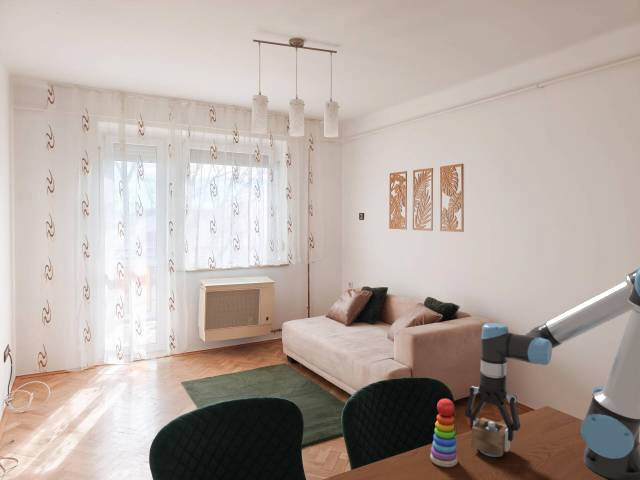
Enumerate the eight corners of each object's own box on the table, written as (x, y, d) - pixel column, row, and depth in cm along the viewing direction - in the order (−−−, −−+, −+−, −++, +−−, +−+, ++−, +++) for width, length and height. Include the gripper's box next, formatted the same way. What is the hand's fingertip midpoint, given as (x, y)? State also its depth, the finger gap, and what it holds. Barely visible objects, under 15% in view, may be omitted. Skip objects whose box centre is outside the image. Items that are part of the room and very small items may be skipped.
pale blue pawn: (506, 450, 144) (507, 422, 144) (499, 459, 139) (499, 430, 138) (483, 443, 149) (484, 415, 148) (475, 451, 143) (476, 423, 143)
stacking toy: (459, 470, 133) (460, 406, 132) (430, 466, 135) (431, 404, 134) (456, 456, 141) (457, 395, 140) (429, 453, 142) (430, 393, 141)
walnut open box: (510, 444, 145) (510, 425, 144) (501, 456, 137) (501, 436, 137) (481, 435, 150) (482, 417, 150) (471, 446, 143) (472, 427, 143)
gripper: (534, 378, 139) (531, 451, 140) (463, 363, 152) (461, 429, 153) (527, 385, 133) (524, 461, 134) (454, 369, 146) (452, 438, 148)
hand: (490, 444), depth 144 cm, fingers closed on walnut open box, 9 cm apart
